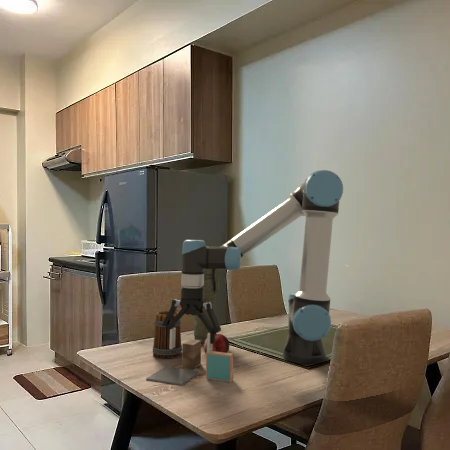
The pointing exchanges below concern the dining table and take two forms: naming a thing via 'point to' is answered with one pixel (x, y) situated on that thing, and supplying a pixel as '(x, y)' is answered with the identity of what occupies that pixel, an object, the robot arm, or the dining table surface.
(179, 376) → the coaster
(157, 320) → the mug
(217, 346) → the fruit
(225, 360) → the tile
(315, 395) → the dining table surface
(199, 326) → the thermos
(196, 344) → the push block
